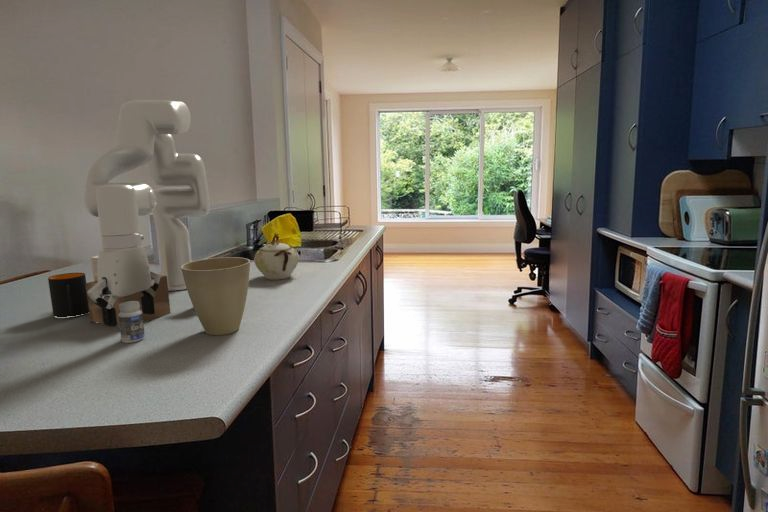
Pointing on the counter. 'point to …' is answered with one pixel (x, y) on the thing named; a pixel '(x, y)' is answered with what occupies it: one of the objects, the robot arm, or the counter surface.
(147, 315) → the box
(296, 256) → the sugar bowl
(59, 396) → the counter surface
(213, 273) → the plant pot
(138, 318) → the pill bottle
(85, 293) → the mug
